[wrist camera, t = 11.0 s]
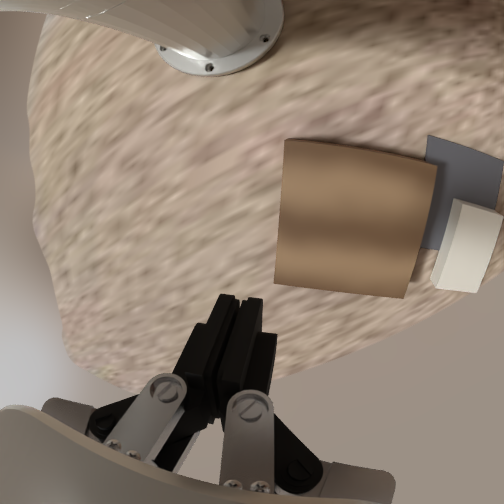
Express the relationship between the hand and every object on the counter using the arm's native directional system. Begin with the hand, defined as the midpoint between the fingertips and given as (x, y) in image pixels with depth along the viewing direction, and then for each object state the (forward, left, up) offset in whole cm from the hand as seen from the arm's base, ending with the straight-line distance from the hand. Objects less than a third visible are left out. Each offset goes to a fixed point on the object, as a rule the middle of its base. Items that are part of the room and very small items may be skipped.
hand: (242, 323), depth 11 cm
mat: (-3, +18, -17) cm, 25 cm away
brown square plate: (0, +6, -17) cm, 18 cm away
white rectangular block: (+1, +20, -15) cm, 25 cm away
